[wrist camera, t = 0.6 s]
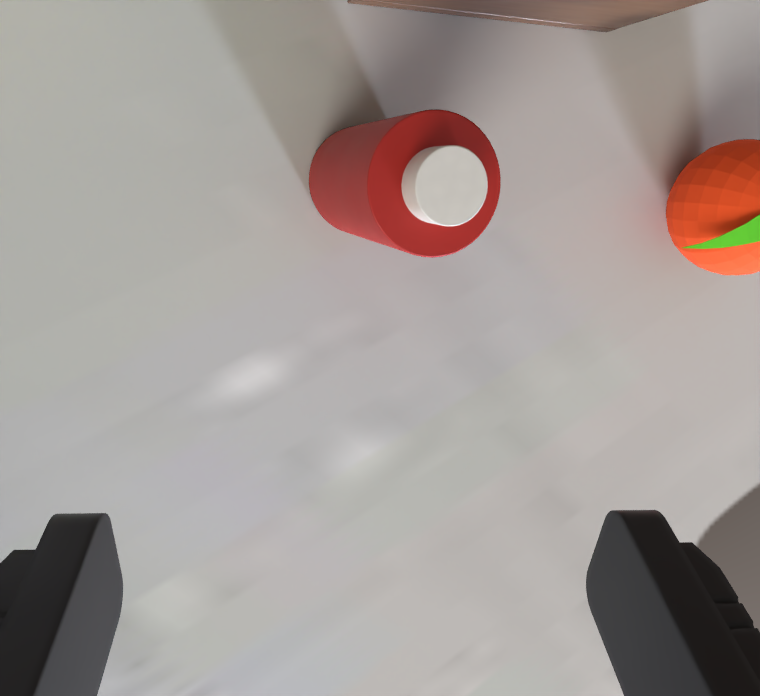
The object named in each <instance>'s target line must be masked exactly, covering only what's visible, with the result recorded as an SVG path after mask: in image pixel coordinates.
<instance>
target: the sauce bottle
mask: <svg viewBox="0 0 760 696" xmlns="http://www.w3.org/2000/svg"><path fill="white" fill-rule="evenodd" d="M309 187H310V193H311V196H312V200H313V202H314V204H315V206H316V208H317V210H318V211H319V213H320V214H321V215H322V217H323V218H324V219H325V220H326V221H327V222H328V223H330V224H331V225H332V226H334V227H336V228H337V229H339V230H342V231H345V232H347V233H350V234H353V235H356V236H359V237H362V238H365V239H368V240H371V241H374V242H377V243H380V244H383V245H386V246H389V247H392V248H395V249H398V250H401V251H404V252H407V253H410V254H413V255H417V256H422V257H442V256H446V255H450V254H453V253H455V252H458V251H460V250H462V249H463V248H465V247H467V246H468V245H469V244H471V243H472V242H473V241H474V240H475V239H477V238H478V237H479V235H480V234H481V233H482V232H483V231H484V230H485V228H486V227H487V225H488V224H489V222H490V220H491V218H492V216H493V214H494V212H495V209H496V206H497V203H498V199H499V193H500V169H499V164H498V160H497V157H496V154H495V151H494V149H493V147H492V145H491V143H490V141H489V140H488V138H487V137H486V135H485V134H484V133H483V132H482V131H481V130H480V128H479V127H477V126H476V125H475V124H474V123H473V122H471V121H470V120H468V119H467V118H465V117H463V116H461V115H459V114H457V113H454V112H450V111H446V110H425V111H420V112H415V113H411V114H406V115H402V116H397V117H393V118H388V119H384V120H379V121H375V122H370V123H366V124H361V125H357V126H352V127H348V128H345V129H342V130H340V131H337V132H336V133H334V134H332V135H331V136H330V137H328V138H327V139H326V140H325V141H324V142H323V143H322V145H321V146H320V147H319V149H318V150H317V152H316V154H315V156H314V158H313V160H312V163H311V167H310V172H309Z"/></svg>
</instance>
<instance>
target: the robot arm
mask: <svg viewBox="0 0 760 696" xmlns="http://www.w3.org/2000/svg"><path fill="white" fill-rule="evenodd" d="M586 590H587V598H588V603H589V606H590V609H591V612H592V615H593V617H594V620H595V622H596V625H597V628H598V630H599V633H600V635H601V638H602V640H603V643H604V645H605V648H606V650H607V653H608V655H609V658H610V661H611V663H612V666H613V668H614V671H615V673H616V676H617V678H618V681H619V683H620V686H621V689H622V691H623V694H624V696H760V632H759V631H758V629H757V628H754V626H753V621H752V619H751V617H750V616H749V614H748V613H747V611H746V609H745V608H744V606H743V604H741V603H739V602H738V596H737V595H736V593H735V592H734V590H733V588H732V587H731V585H730V584H729V582H728V580H727V579H726V577H725V575H724V574H723V572H722V571H721V569H720V568H719V567H718V566H717V565H716V564H715V563H714V562H713V561H712V560H711V559H710V558H708V557H707V556H706V555H705V554H704V553H703V552H702V551H701V550H700V549H699V548H697V547H696V546H695V545H694V544H693V543H692V542H691V543H679V541H678V539H677V538H676V536H675V534H674V532H673V531H672V529H671V527H670V526H669V524H668V522H667V520H666V519H665V517H664V516H663V515H662V514H661V513H660V512H659V511H656V510H613V511H610V512H609V513H608V514H607V516H606V518H605V520H604V523H603V526H602V529H601V532H600V535H599V538H598V541H597V544H596V547H595V550H594V553H593V556H592V559H591V562H590V565H589V568H588V571H587V578H586ZM122 598H123V580H122V573H121V569H120V564H119V559H118V554H117V549H116V544H115V540H114V535H113V530H112V525H111V521H110V518H109V516H108V514H106V513H87V514H55V515H53V516H52V517H51V519H50V520H49V522H48V524H47V526H46V528H45V531H44V533H43V535H42V537H41V539H40V542H39V544H38V546H37V548H36V550H13V551H12V552H11V553H10V554H9V555H8V556H7V557H6V558H5V559H4V560H3V561H2V562H1V563H0V696H97V694H98V690H99V687H100V683H101V680H102V676H103V673H104V669H105V666H106V663H107V659H108V656H109V652H110V649H111V645H112V642H113V638H114V635H115V631H116V628H117V624H118V621H119V617H120V612H121V607H122Z"/></svg>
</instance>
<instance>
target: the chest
mask: <svg viewBox="0 0 760 696" xmlns="http://www.w3.org/2000/svg"><path fill="white" fill-rule="evenodd" d="M705 1H708V0H348V3H353V4H362V5H371V6H380V7H389V8H398V9H406V10H415V11H424V12H433V13H442V14H451V15H460V16H468V17H477V18H486V19H495V20H504V21H513V22H521V23H530V24H539V25H548V26H557V27H566V28H575V29H583V30H592V31H601V32H608V31H611V30H615V29H617V28H620V27H623V26H627V25H630V24H633V23H636V22H640V21H643V20H646V19H649V18H653V17H656V16H659V15H662V14H666V13H669V12H672V11H675V10H679V9H682V8H685V7H688V6H692V5H695V4H698V3H701V2H705Z"/></svg>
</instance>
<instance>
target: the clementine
mask: <svg viewBox="0 0 760 696" xmlns="http://www.w3.org/2000/svg"><path fill="white" fill-rule="evenodd" d="M666 218H667V226H668V231H669V233H670V236H671V238H672V241H673V243H674V245H675V246H676V247H677V248H678V250H679V251H680V252H681V253H682V254H683V255H684V256H685V257H686V258H687V259H688V260H689V261H691V262H692V263H694V264H695V265H697V266H698V267H700V268H703V269H705V270H708V271H711V272H714V273H718V274H722V275H744V274H752V273H755V272H758V271H760V140H754V139H743V140H734V141H730V142H726V143H722V144H720V145H717V146H714V147H711V148H710V149H708V150H706V151H705V152H703V153H702V154H700V155H699V156H697V157H696V158H695V159H693V160H692V161H690V162H689V163H688V164H687V166H686V167H685V168H684V169H683V170H682V171H681V172H680V174H679V176H678V177H677V179H676V181H675V183H674V185H673V187H672V188H671V190H670V194H669V197H668V200H667V207H666Z"/></svg>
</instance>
